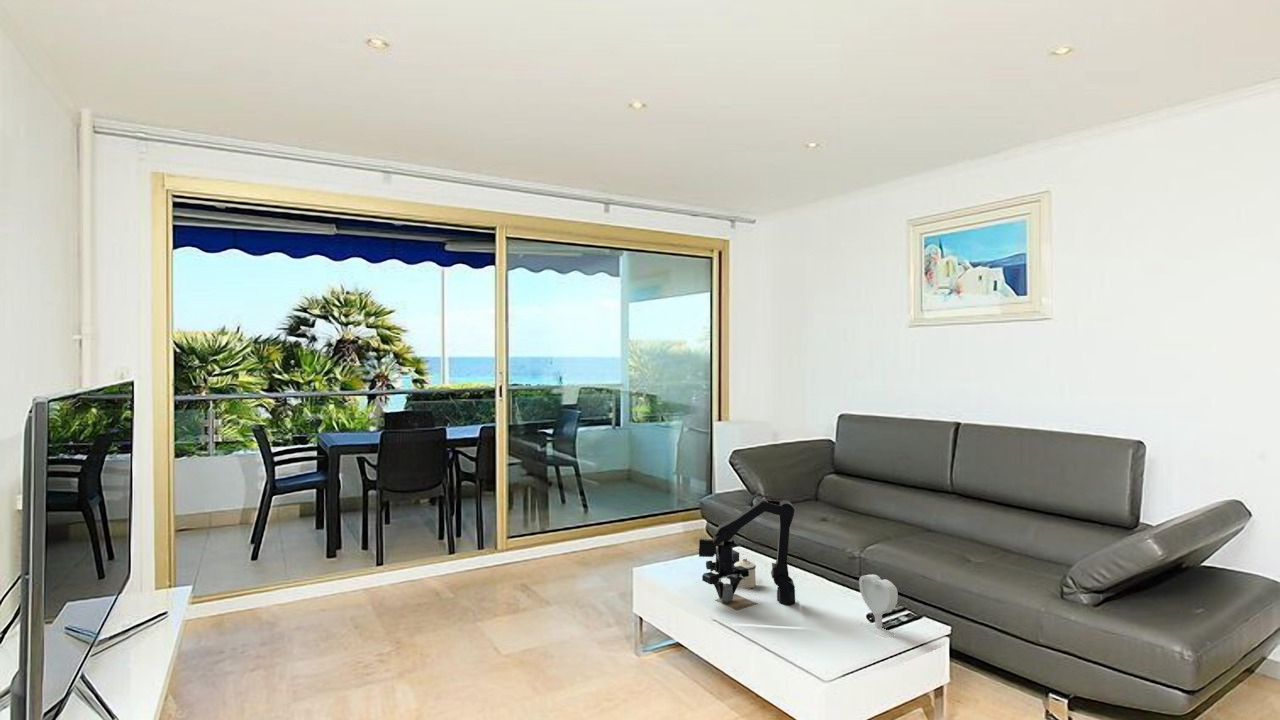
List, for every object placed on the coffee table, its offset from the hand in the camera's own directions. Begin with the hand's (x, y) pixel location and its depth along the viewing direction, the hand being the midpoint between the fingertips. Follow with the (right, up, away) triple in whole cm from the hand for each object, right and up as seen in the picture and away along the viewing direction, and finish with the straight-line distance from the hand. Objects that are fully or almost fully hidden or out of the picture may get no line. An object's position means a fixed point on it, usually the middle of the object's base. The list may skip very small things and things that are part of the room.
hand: (726, 596), depth 266 cm
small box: (+5, -2, +35) cm, 35 cm away
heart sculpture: (+50, -2, -28) cm, 57 cm away
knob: (0, -1, 0) cm, 1 cm away
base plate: (+4, -2, -1) cm, 5 cm away
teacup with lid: (+9, -2, +18) cm, 20 cm away
